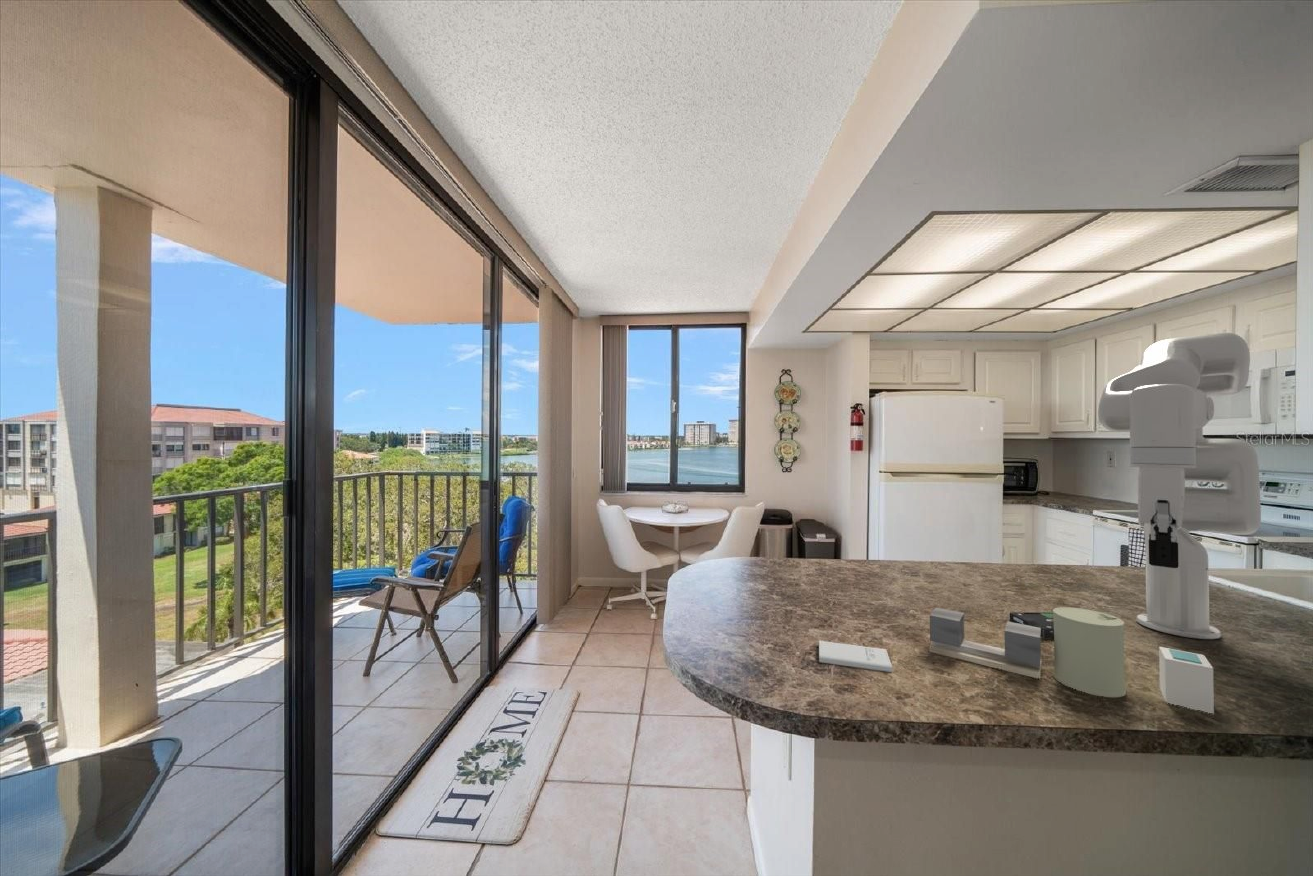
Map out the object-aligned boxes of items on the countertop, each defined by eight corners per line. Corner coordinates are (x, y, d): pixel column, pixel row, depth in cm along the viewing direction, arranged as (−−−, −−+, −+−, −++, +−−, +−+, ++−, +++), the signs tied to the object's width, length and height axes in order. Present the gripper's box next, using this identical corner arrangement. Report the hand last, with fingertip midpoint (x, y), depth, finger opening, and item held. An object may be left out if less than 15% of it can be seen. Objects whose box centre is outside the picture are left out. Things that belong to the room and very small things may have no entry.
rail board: (936, 640, 99) (936, 606, 99) (1041, 665, 88) (1040, 627, 88) (929, 651, 94) (929, 615, 94) (1040, 679, 83) (1039, 638, 83)
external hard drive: (819, 647, 97) (886, 656, 93) (819, 665, 89) (892, 675, 85) (818, 639, 97) (886, 647, 93) (819, 656, 89) (892, 666, 85)
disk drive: (1044, 642, 100) (1115, 642, 100) (1044, 629, 100) (1115, 628, 100) (1008, 624, 110) (1072, 623, 110) (1008, 611, 110) (1072, 611, 110)
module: (1159, 688, 80) (1159, 645, 80) (1204, 698, 77) (1203, 653, 77) (1165, 703, 75) (1165, 657, 75) (1213, 714, 72) (1213, 667, 72)
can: (1142, 700, 76) (1141, 624, 76) (1076, 695, 78) (1075, 621, 78) (1099, 673, 85) (1098, 605, 85) (1041, 669, 87) (1040, 602, 87)
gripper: (1131, 459, 88) (1132, 552, 87) (1127, 457, 76) (1129, 565, 76) (1192, 460, 83) (1194, 559, 82) (1199, 458, 71) (1200, 575, 70)
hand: (1163, 562), depth 79 cm, fingers open, 9 cm apart
